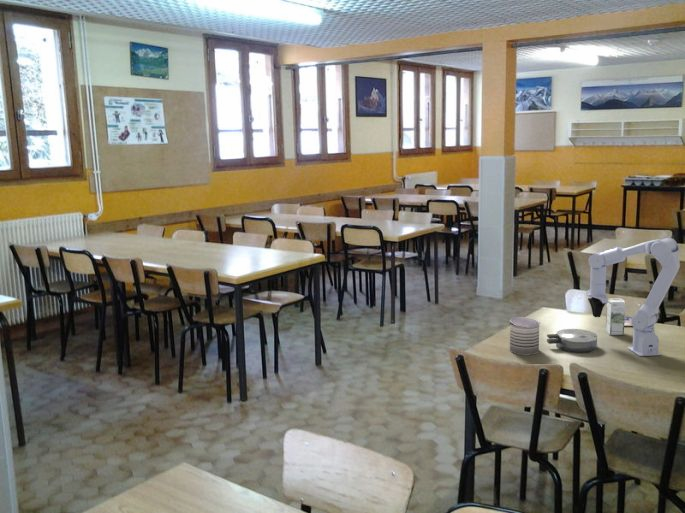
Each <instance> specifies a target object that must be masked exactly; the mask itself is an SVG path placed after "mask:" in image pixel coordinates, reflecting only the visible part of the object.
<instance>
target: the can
mask: <svg viewBox="0 0 685 513" xmlns="http://www.w3.org/2000/svg"><path fill="white" fill-rule="evenodd" d="M508 322H509V324H510V326H509V336H510V337H509V351H510V352H511V351H512V352H511V353H513V352H514V353H513V354H515V353H517V354H516V355H520V354H523V355H522V356H531V355H530V354H534V355H536V354H538V352H540V351H539V350H540V325H541V322H540V321H538V320H536V319H535V318H531V317H525V316H516V317H510V319H509V320H508ZM535 353H536V354H535Z"/></svg>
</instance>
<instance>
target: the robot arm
mask: <svg viewBox="0 0 685 513" xmlns="http://www.w3.org/2000/svg"><path fill="white" fill-rule="evenodd" d="M680 250H681V248H680V246H679V245H678V243H677V241H676V240H675V239H674V238H671V237H665V238H663V239H661V238H659V239H653V240H648V241H644V242H641V243H638V244H635V245H632V246H629V247H625V248H623V247H621V246H612V247H611V248H610V249H608V250H607V249H606V250H604V249H602V250H600V252H597V253H593V254H592V255H590V256H589V257H588V265H589V266H590V274H589V275H590V277H589V280H590V281H589V282H590V283H589V289H587V293H586V296H587V297H590V298H587V300H588V303H589V305H590V308H591V312H592V316H593V317H594V318H601V316H602V313H603V310H604V307H605V305H607V303H608V299H609V297H608V296H607V294H606V287H607V286H606V284H607V283H606V282H607V266H611V265H614V264H618V263H621V262H624V261H626V258H627V257H630V256H634V255H638V254H642V253H645V254H647V255H652V256H653V257H654V259H656V260H657V261H658V262H659V264H660V266H661V270H660V272H659V274H658V276H657V278H656V280H655V281H654V284H653V286H652V287H651V289H650V291H649V294H648V295H647V297H646V298H645V302H644V303H643V304H642V305H641V307H640V308H639V309H638V311H637V312H636V313H635V314H634V315H632V317H631V324H632V326H633V327H632V328H633V329H632V330H633V331H632V346H628V347H627V349H629V351H631V352H633V353H635V355H638V356H639V357H646V356H647V357H649V356H660V355H661V353H659V345H660V344H659V343H660V342H659V341H660V340H659V337H658V335H657V334H656V332H655V324H656V323H657V322H658V319H659V317H658V315H659V312H660V310H659V307H660V306H661V304H662V302H663V300H664V298H665V296H666V295H667V292H668V291H669V289H670V287H671V286H672V283H673V281H674V280H675V277H676V276H677V274H678V272H679V269H680V267H681V262H680Z"/></svg>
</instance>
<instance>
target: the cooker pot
mask: <svg viewBox="0 0 685 513" xmlns="http://www.w3.org/2000/svg"><path fill="white" fill-rule="evenodd" d="M546 342H547V343H548V344H549V345H551V344H553V345H554V344H555V347H556V348H557V349H559V350H560V349H561V350H560V351H563V352H567V353H573V354H590V353H593V352H595V351H597V348H598V339H597V340H595V341H593V342H588V343H574V342H568V341H564V340H561V339H559V338H552V339H549V338H547V339H546Z"/></svg>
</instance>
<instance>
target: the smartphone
mask: <svg viewBox="0 0 685 513" xmlns="http://www.w3.org/2000/svg"><path fill="white" fill-rule="evenodd" d="M631 318H632V317H631V316H625V322H624V328H634V327H633V326H632V324H631Z"/></svg>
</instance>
